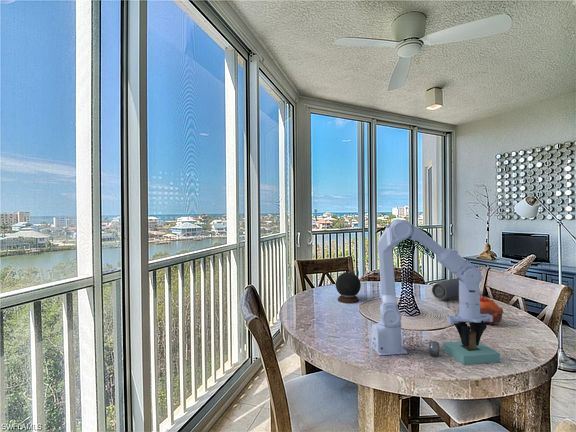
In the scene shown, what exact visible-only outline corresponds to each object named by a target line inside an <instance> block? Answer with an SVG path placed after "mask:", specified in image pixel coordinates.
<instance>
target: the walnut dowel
mask: <svg viewBox="0 0 576 432" xmlns="http://www.w3.org/2000/svg"><path fill="white" fill-rule="evenodd" d="M465 349H466V350H468V351H476V332H475V331H472V330H471V329H470V333H469V345H468V347H466V346H465Z"/></svg>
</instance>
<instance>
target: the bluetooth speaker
mask: <svg viewBox="0 0 576 432" xmlns="http://www.w3.org/2000/svg"><path fill="white" fill-rule="evenodd" d="M460 280H461V279H460ZM461 281H462V280H461ZM431 292H432V295H433V296H434V298H436V299H438V300H446V301H452V300H456V299H459V278H457V277H456V278H451V279H446V280H442V281H440V282H436V283H434V284H433V285H432V287H431Z"/></svg>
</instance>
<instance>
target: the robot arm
mask: <svg viewBox="0 0 576 432" xmlns="http://www.w3.org/2000/svg"><path fill="white" fill-rule="evenodd" d="M407 239H409V240H411V241H417V242H418V243H420V244H421V245H422V246H424V247H425V248H426V249H428V250H429V251H431V252H432V253H433V254H434V255H436V257H437V262H438V263H439V264H441V265H442V266H444V267H445V268H446V270H448V271H449V272H450V273H452V274H453V275H455V276H456V278H459V298H458V309H459V310H458V311H459V313H457V314H453V315H448V316H446V323H447V324H449V325H454V326H455V328H456V330H457V332H458V334H459V338H460V341H461V342H462V344H463V345H464V346H466V347H468V345H469V333H470V330H472V331H475V332H476V346H478V345H479V342H481V338H482V335H483V334H484V332H485V330H486V329H487V327H488V326H487V325H488V324H486V323H484V321H489V322H493V316H492V315H489V314H480V297H481V296H480V283H481V282H483V278H484V275H483V274H482V273H481V270H480V269H479V268H478V267H476V266H474V265H471V261H470V260H468V259H465V258H463V257H462V256H461V255H460V254H458V253H459V251H458V250H457V249H454V248H453V249H452V248H451V247H450V248H449V247H447V248H444V247H443V246H442V245H440V244H439V243H438V242H437V241H436V240H434V239H433V238H432V237H430V236H429V235H428V234H427V233H425V232H424V230H422V229H420V228H419V227H418V226H415V225H413V224H411V223H410V222H409V221H407V220H405V219H393V221H391V222H390V223H389V224H387V225H386V227H385V229H384V231H383V232H382V234H381V236H380V237H379V240H378V241H377V253H378V263H379V264H378V266H379V269H378V270H379V280H380V293H381V296H380V297H381V299H380V300H381V301H380V303H379V308H378V311H379V313H380V317H379V319H378V322H376V323H373V324H372V325H371V327H370V328H371V329H370V334H371V337H370V338H371V343H370V346H371V348H373V350H374V351H375V352H376V353H377V354H378V355H379V356H390V355H403V354H408V351H407V350H405V349H404V348H403V345H402V340H403V339H402V314H401V311H399V307H398V301H397V294H396V293H397V292H396V281H395V269H394V267H395V266H394V254H393V249H394V248H395V247H396V246H397V245H398V244H399V243H400V242H403V241H405V240H407ZM460 279H461V280H462V281H461V280H460Z"/></svg>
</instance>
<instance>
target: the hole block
mask: <svg viewBox="0 0 576 432" xmlns="http://www.w3.org/2000/svg"><path fill="white" fill-rule="evenodd" d="M442 350H443V351H444V352H445V353H446V354H448V355H450V357H452V358H454V359H455V360H456V361H458V362H459V363H461V364H462V365H475V364H485V363H487V364H488V363H497V362H498V363H499V362H501V353H500V352H499V351H497V350H495V349H493V348H492V347H489V346H487V345H486V344H484V343H482V342H481V341H480V342H479V345H478V346H476V351H468V350H466V349H465V346H464V345H463V344H462V342H461V340H458V341H447V342H445V341H443V342H442Z"/></svg>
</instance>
